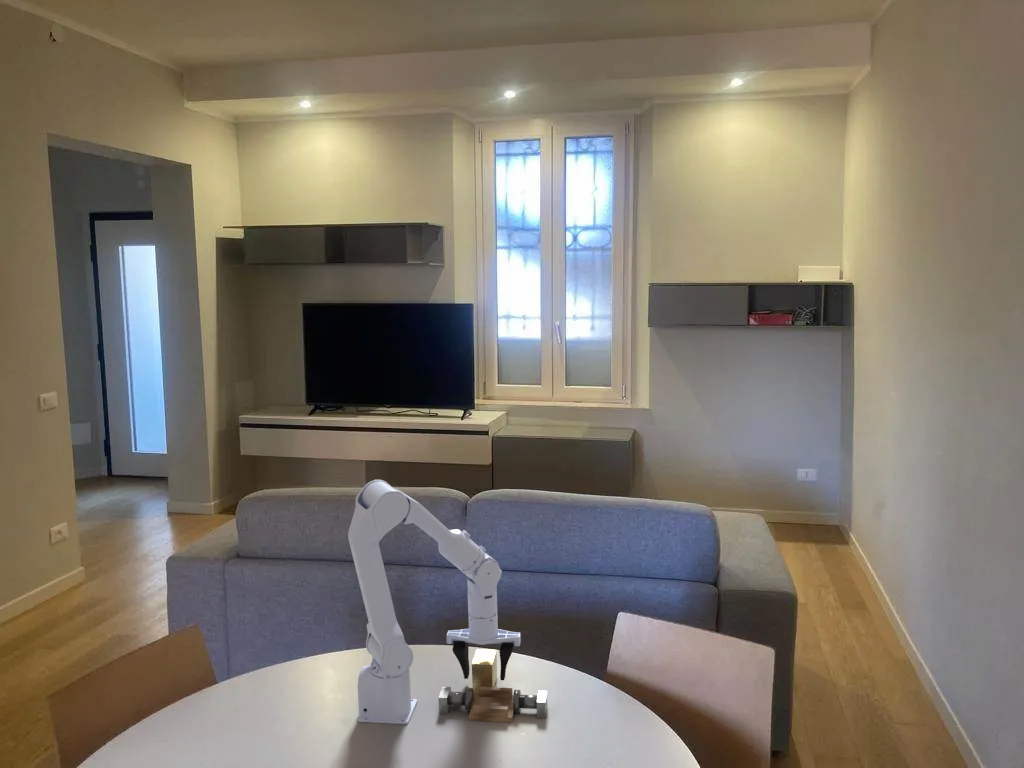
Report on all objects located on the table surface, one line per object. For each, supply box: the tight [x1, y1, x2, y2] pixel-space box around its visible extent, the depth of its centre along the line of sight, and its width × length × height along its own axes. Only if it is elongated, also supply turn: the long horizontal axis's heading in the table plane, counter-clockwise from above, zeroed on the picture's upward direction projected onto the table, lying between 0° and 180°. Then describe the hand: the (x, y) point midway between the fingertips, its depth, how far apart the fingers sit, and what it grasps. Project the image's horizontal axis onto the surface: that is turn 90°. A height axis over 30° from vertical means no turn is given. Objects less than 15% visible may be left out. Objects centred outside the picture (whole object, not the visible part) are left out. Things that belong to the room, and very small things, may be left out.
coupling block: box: [471, 648, 498, 694], centre depth 159 cm, size 6×4×6 cm, turn 173°
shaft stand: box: [438, 686, 548, 724], centre depth 150 cm, size 20×8×4 cm, turn 83°
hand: (484, 677), depth 160 cm, fingers open, 7 cm apart
